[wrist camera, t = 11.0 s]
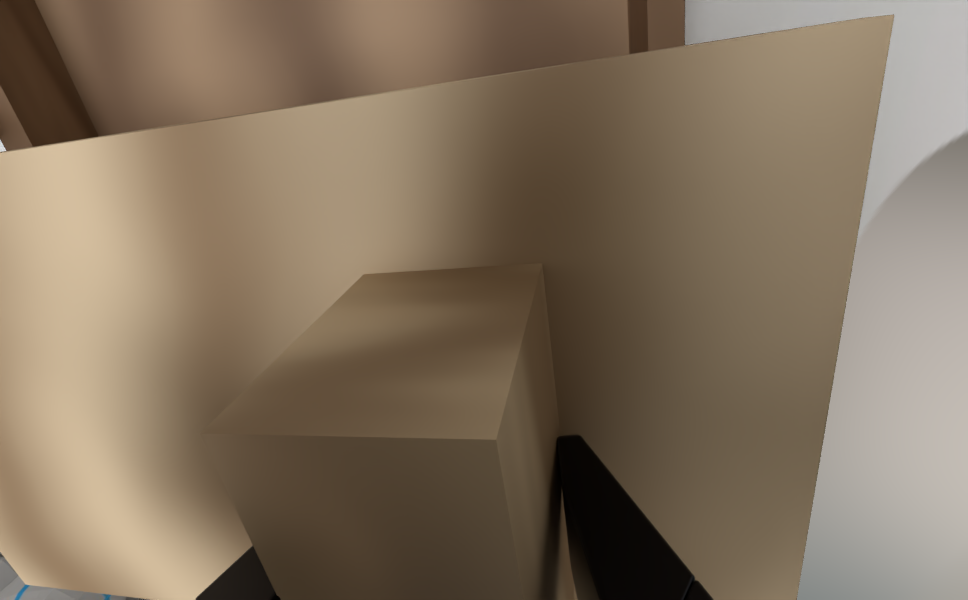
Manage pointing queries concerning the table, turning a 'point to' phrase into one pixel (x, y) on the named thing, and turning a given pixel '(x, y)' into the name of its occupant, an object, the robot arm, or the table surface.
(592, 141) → the lid
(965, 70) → the table surface
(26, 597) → the figurine
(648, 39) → the toolbox
